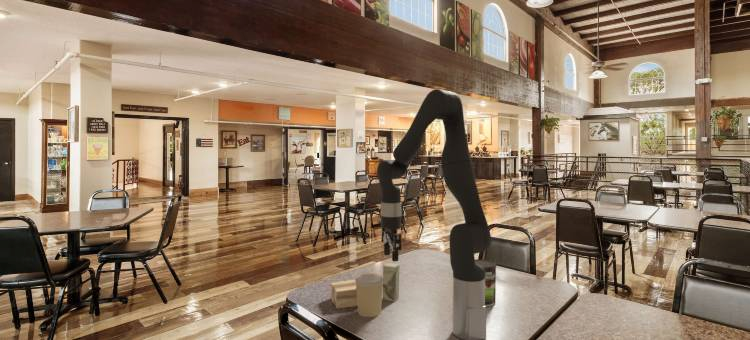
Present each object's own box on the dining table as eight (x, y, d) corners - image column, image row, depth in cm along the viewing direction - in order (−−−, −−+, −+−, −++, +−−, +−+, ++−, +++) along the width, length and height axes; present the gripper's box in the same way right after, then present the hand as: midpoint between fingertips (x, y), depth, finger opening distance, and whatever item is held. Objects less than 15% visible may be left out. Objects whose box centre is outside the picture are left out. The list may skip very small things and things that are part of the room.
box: (382, 299, 140) (381, 265, 139) (387, 295, 144) (387, 262, 143) (395, 302, 137) (395, 267, 137) (400, 298, 141) (399, 264, 141)
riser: (364, 304, 135) (364, 288, 135) (336, 308, 132) (336, 291, 132) (356, 294, 144) (356, 279, 144) (330, 298, 141) (330, 282, 141)
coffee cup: (367, 304, 135) (367, 271, 135) (388, 311, 129) (388, 276, 129) (350, 313, 128) (349, 278, 127) (371, 321, 122) (371, 284, 121)
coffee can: (501, 305, 134) (502, 265, 133) (475, 308, 131) (476, 268, 131) (485, 294, 144) (486, 258, 143) (461, 297, 141) (461, 260, 141)
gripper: (408, 217, 133) (408, 262, 134) (393, 210, 147) (393, 252, 148) (388, 218, 131) (388, 264, 132) (375, 211, 145) (375, 253, 145)
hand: (390, 257), depth 140 cm, fingers open, 8 cm apart
